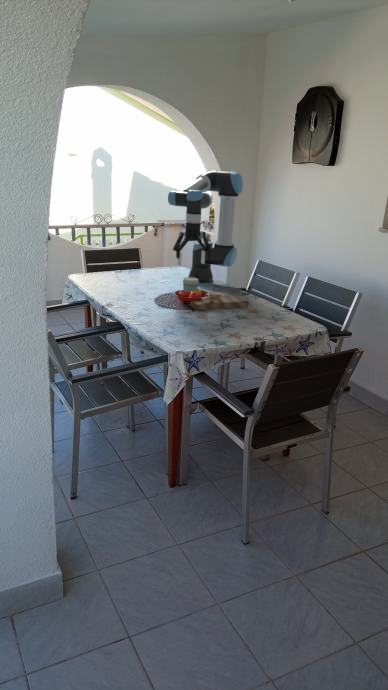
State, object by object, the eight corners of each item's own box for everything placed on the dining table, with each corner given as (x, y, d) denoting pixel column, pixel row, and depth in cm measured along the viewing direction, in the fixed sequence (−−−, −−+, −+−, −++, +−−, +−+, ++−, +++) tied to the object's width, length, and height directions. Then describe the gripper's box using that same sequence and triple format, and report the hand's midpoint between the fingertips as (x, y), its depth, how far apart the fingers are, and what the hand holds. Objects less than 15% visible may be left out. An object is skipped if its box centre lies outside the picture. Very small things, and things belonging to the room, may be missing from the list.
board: (238, 301, 274) (239, 295, 273) (248, 306, 266) (248, 300, 265) (187, 304, 261) (188, 299, 260) (196, 310, 253) (196, 304, 252)
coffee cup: (200, 301, 270) (202, 278, 266) (192, 304, 263) (193, 281, 259) (186, 298, 274) (188, 276, 270) (178, 301, 267) (179, 278, 263)
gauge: (217, 299, 264) (217, 291, 263) (223, 301, 260) (224, 294, 259) (198, 301, 257) (198, 293, 256) (204, 304, 253) (205, 296, 252)
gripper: (211, 220, 265) (208, 261, 272) (167, 221, 254) (166, 263, 262) (218, 223, 259) (215, 264, 266) (173, 223, 248) (171, 266, 256)
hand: (191, 264), depth 264 cm, fingers open, 13 cm apart
